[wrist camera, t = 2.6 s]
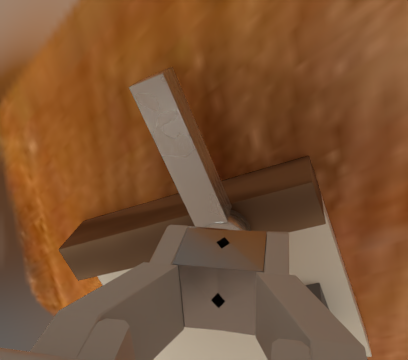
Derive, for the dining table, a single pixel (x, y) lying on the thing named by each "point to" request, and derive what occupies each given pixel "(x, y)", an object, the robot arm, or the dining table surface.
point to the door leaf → (298, 265)
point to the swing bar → (185, 151)
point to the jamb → (178, 215)
